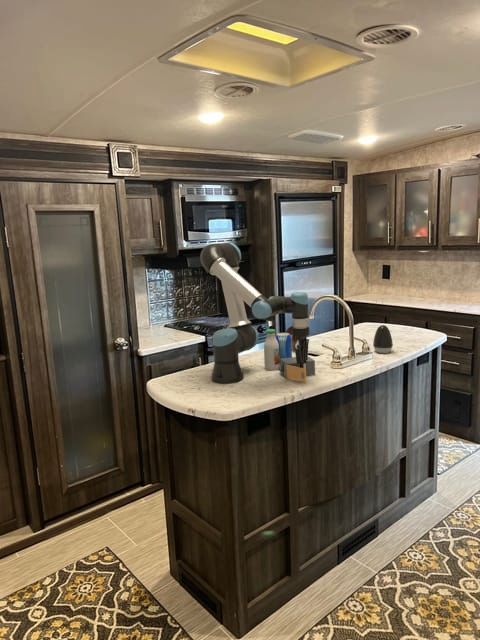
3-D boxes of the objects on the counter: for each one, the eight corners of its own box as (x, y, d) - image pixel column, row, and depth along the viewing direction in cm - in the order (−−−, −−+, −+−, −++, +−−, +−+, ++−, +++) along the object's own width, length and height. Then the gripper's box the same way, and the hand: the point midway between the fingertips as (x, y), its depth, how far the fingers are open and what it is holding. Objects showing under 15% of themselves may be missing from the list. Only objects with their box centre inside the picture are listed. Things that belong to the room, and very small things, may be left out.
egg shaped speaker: (372, 354, 253) (372, 326, 250) (374, 349, 262) (374, 323, 260) (391, 355, 249) (392, 327, 246) (393, 350, 258) (393, 323, 256)
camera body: (284, 378, 219) (283, 362, 217) (277, 372, 228) (277, 357, 227) (315, 374, 222) (314, 358, 221) (307, 369, 232) (306, 354, 230)
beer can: (291, 366, 238) (290, 335, 235) (275, 366, 240) (273, 335, 237) (292, 361, 246) (291, 332, 243) (277, 361, 248) (275, 332, 245)
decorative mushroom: (291, 354, 262) (291, 327, 260) (282, 350, 272) (281, 324, 270) (308, 351, 267) (307, 325, 264) (298, 347, 277) (297, 322, 274)
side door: (283, 377, 218) (282, 364, 216) (285, 376, 219) (285, 363, 218) (304, 382, 209) (303, 368, 208) (306, 381, 210) (306, 368, 209)
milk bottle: (269, 371, 231) (268, 332, 228) (261, 368, 238) (260, 329, 235) (282, 368, 235) (281, 329, 231) (274, 365, 242) (273, 327, 238)
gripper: (303, 330, 202) (305, 382, 207) (313, 324, 213) (315, 373, 218) (287, 329, 206) (289, 380, 211) (298, 323, 217) (300, 372, 221)
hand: (302, 376), depth 214 cm, fingers closed
